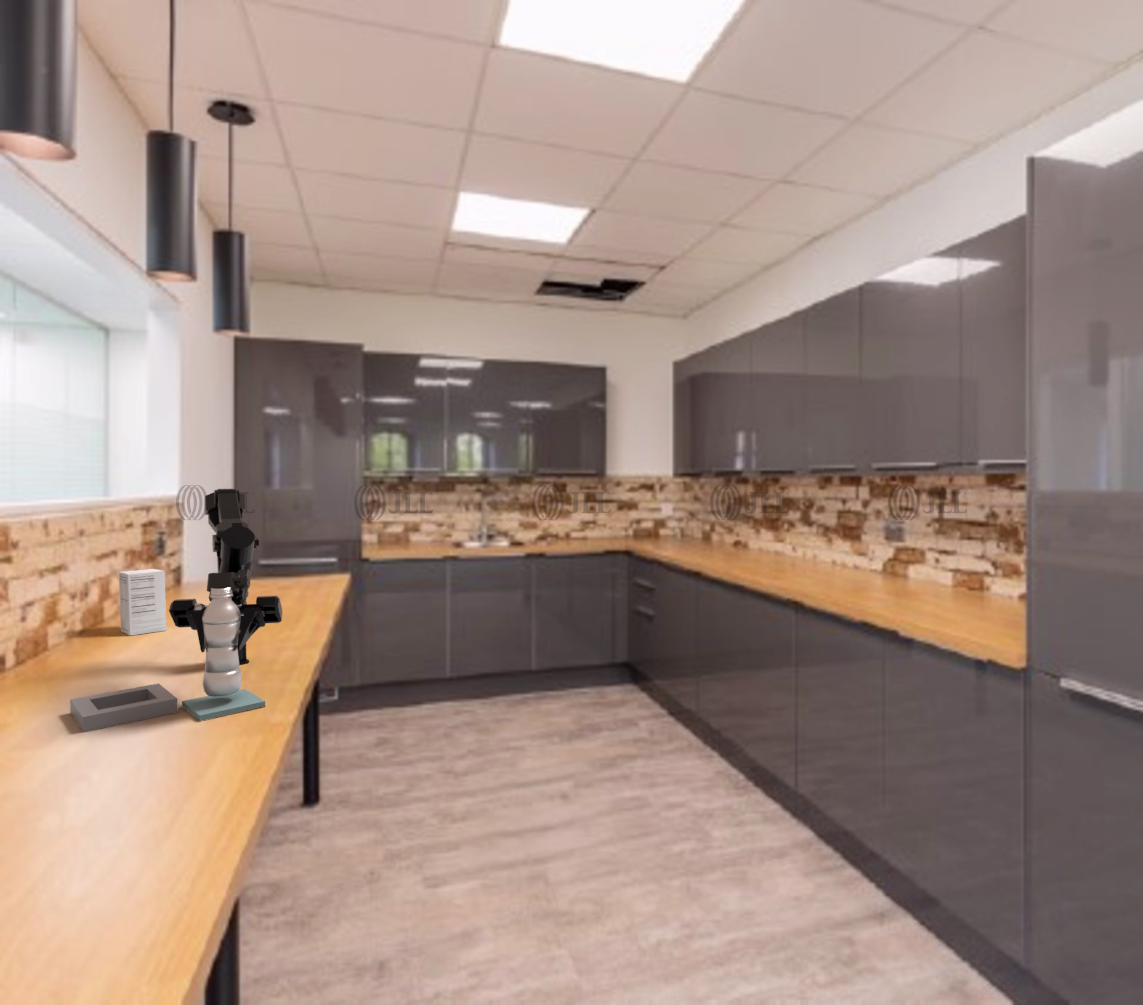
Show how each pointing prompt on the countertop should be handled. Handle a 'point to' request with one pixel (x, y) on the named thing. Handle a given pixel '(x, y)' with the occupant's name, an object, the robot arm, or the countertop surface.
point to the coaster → (222, 704)
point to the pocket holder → (122, 706)
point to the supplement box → (142, 601)
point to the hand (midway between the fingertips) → (220, 650)
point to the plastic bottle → (221, 644)
